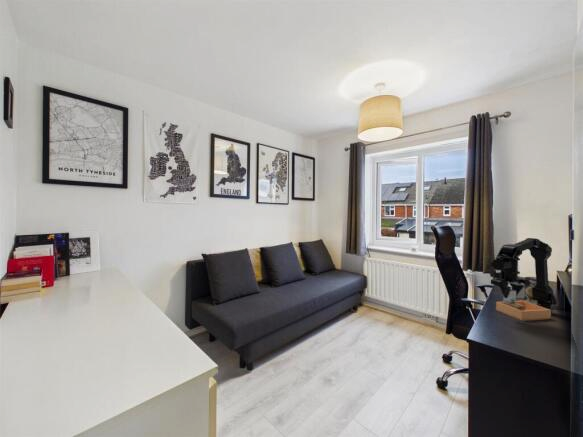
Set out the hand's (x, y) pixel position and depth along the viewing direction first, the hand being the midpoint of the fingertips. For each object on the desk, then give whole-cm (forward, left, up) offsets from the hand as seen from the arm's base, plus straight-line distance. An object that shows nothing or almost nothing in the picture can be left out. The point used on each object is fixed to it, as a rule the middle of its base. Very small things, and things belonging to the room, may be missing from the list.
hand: (509, 297), depth 130 cm
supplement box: (-42, -31, -12) cm, 54 cm away
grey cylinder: (0, 0, -3) cm, 2 cm away
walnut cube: (-10, -5, -11) cm, 16 cm away
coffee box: (-40, -18, -12) cm, 45 cm away
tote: (-14, -5, -12) cm, 19 cm away
